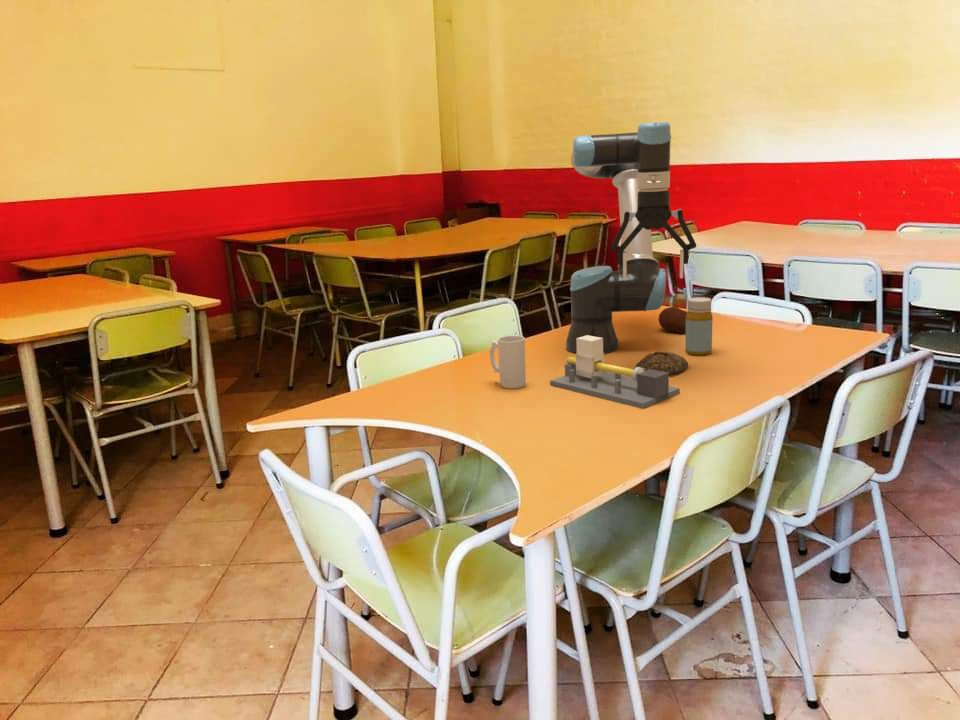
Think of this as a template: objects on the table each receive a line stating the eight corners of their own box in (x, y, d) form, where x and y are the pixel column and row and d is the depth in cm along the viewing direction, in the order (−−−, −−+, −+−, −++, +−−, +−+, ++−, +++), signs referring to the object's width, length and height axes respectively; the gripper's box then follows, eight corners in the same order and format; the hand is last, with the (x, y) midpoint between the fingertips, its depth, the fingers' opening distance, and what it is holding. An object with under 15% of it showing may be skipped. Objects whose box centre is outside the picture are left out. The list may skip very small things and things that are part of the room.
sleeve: (576, 374, 184) (575, 338, 182) (588, 370, 187) (588, 334, 185) (591, 378, 181) (591, 341, 178) (604, 373, 184) (604, 337, 181)
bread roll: (694, 368, 194) (695, 349, 192) (670, 380, 185) (670, 360, 184) (650, 361, 202) (651, 343, 201) (626, 372, 193) (626, 353, 192)
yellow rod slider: (550, 385, 185) (549, 359, 184) (587, 372, 194) (586, 347, 192) (643, 408, 165) (643, 379, 163) (679, 393, 174) (680, 365, 172)
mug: (531, 383, 188) (530, 337, 185) (517, 390, 183) (514, 343, 179) (499, 378, 194) (496, 333, 190) (483, 385, 188) (481, 339, 185)
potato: (687, 336, 224) (687, 310, 222) (652, 332, 232) (652, 307, 230) (697, 331, 230) (698, 306, 228) (663, 327, 237) (663, 303, 235)
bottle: (683, 355, 204) (684, 301, 201) (686, 349, 211) (687, 296, 207) (710, 356, 202) (711, 302, 198) (712, 350, 208) (714, 297, 204)
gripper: (599, 193, 178) (600, 281, 184) (708, 188, 172) (706, 279, 178) (601, 191, 185) (602, 275, 191) (706, 186, 179) (704, 274, 185)
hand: (652, 277), depth 184 cm, fingers open, 13 cm apart
